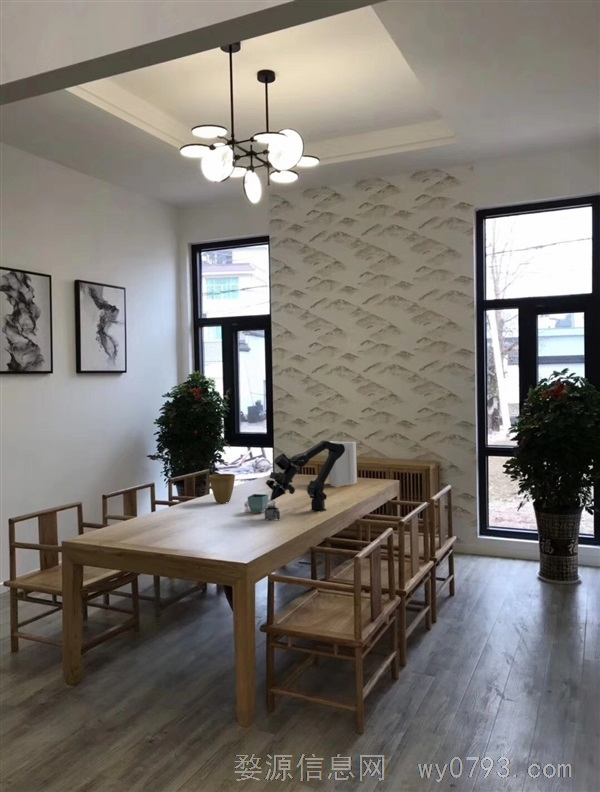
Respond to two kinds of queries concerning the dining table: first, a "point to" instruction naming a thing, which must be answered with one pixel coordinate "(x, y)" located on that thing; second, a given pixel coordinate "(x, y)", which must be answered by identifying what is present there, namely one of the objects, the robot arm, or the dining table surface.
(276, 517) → the grey octagonal mug
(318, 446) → the robot arm
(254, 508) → the flower pot
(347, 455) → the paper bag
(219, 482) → the plant pot
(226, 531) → the dining table surface
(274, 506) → the dark round piece
